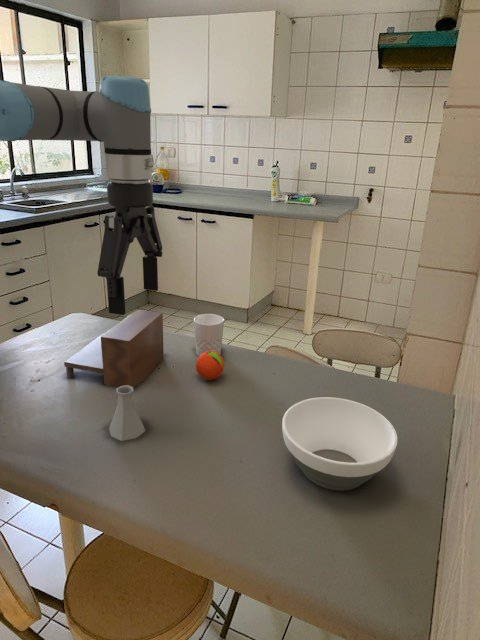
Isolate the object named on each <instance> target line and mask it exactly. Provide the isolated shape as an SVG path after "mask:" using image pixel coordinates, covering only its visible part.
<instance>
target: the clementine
mask: <svg viewBox="0 0 480 640" xmlns="http://www.w3.org/2000/svg"><path fill="white" fill-rule="evenodd" d="M224 369H225V360H224V358H223V357H222V356H221V354H220V355H219V354H218V353H216V352H214V351H206V352H204V353H202V354H201V355H200V356H198V357H197V359H196V361H195V370H196V373H197V374H198V375H199V376H200V377H201V378H202V379H205V380H208V381H213V380H215V379H218V378H219V377H220V376H221V375H222V374H223V372H224Z"/></svg>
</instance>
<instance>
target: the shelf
mask: <svg viewBox="0 0 480 640" xmlns="http://www.w3.org/2000/svg"><path fill="white" fill-rule="evenodd" d="M163 316H164V314H163V312H158V311H153V310H152V311H150V310H143V309H136V310H135V311H133V312H132V313H130V314H129V315H128V316H127V317H125V318H124V319H123V320H121V321H120V322H118V323H117V324H115V325H114V326H113V327H111V329H109V330H108V331H106V332H103V333H102V334H100V335H99V336H98V337H96V338H94V339H93V340H92V341H91V342H89V343H88V344H87V345H86V346H84V347H82V348H81V349H80V350H79V351H77V352H76V353H75V354H73V355H72V356H70V357H69V358H67V360H65V361H63V365H64V368H66V371H65V372H66V378H67V379H73V378H75V370H81V371H86V372H93V373H98V374H103V384H104V386H109V387H115V388H119V387H120V386H125V385H128V386H131V387H133V389H134V388H135V387H136V386H137V385H138V384H139V383H140V384H142V383H143V382H144V381H145V380H146V379H147V377H148V376H150V375H151V373H153V371H154V370H155V369H156V368H157V367H158V366H159V365H160V363H162V361H164V360H165V359H164V357H165V356H164V354H165V353H164V317H163ZM74 369H75V370H74Z"/></svg>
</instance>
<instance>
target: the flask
mask: <svg viewBox="0 0 480 640" xmlns="http://www.w3.org/2000/svg"><path fill="white" fill-rule="evenodd" d="M115 391H116V394H117V402H116V408H115V411H114V414H113V417H112V419H111V422H110V425H109V427H108V431H109V434H110V436H111V437H112V438H114V439H116V440H119V441H121V442H124V441H130V440H133V439H137V438H138V437H140V436H141V435H142V434H143V433H145V432H146V428H145V426H144V423H143V422H142V419H141V417H140V415H139V414H138V411H137V409H136V407H135V404H134V397H133V394H134V393H135V392H134V391H135V390H134V388H133V387H131V386H128V385H125V386H120V387H116V388H115Z"/></svg>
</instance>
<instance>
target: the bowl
mask: <svg viewBox="0 0 480 640" xmlns="http://www.w3.org/2000/svg"><path fill="white" fill-rule="evenodd" d="M281 427H282V437H283V441H284V444H285V446H286V448H287V450H288V452H289V454H290V455H291V457H292V458H293V460H294V462H295V463H296V465H297V466H298V468H299V469H300V470H301V471H302V473H303V474H304V475H305V477H306V478H307V479H308V480H309V481H311V482H312V483H314V484H315V485H317V486H320V487H321V488H324V489H328V490H330V491H331V490H332V491H349V490H353V489H357V488H358V487H359V486H361V485H362V484H365V483H366V482H368V481H370V480H371V479H372V478H373V477H375V475H378V474H379V473H380V472H381V471H382V470H383V469H385V468H386V467H387V465H388V464H389V463H390V462H391V460H392V459H393V457H394V455H395V452H396V450H397V446H398V434H397V430H396V429H395V427H394V426H393V424H392V423H391V422H390V421H389V420H388V419H387V418H386V417H385V416H384V415H382V414H381V413H380V412H379V411H378V410H375V409H373V408H372V407H370V406H368V405H365V404H363V403H361V402H359V401H358V402H357V401H355V400H351V399H347V398H340V397H332V396H323V397H321V396H319V397H311V398H307V399H303V400H301V401H299V402H296V403H294V404H292V405H291V406H290V407H289V408H288V409H287V410H286V411H285V413H284V414H283V416H282V423H281ZM323 450H330V451H336V452H339V453H343V454H345V455H347V456H349V457H350V458H352V459H353V460H354V461H355V462H347V461H338V460H334V459H329V458H325V457H322V456H320V455H317V454H315V452H318V451H323Z"/></svg>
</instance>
